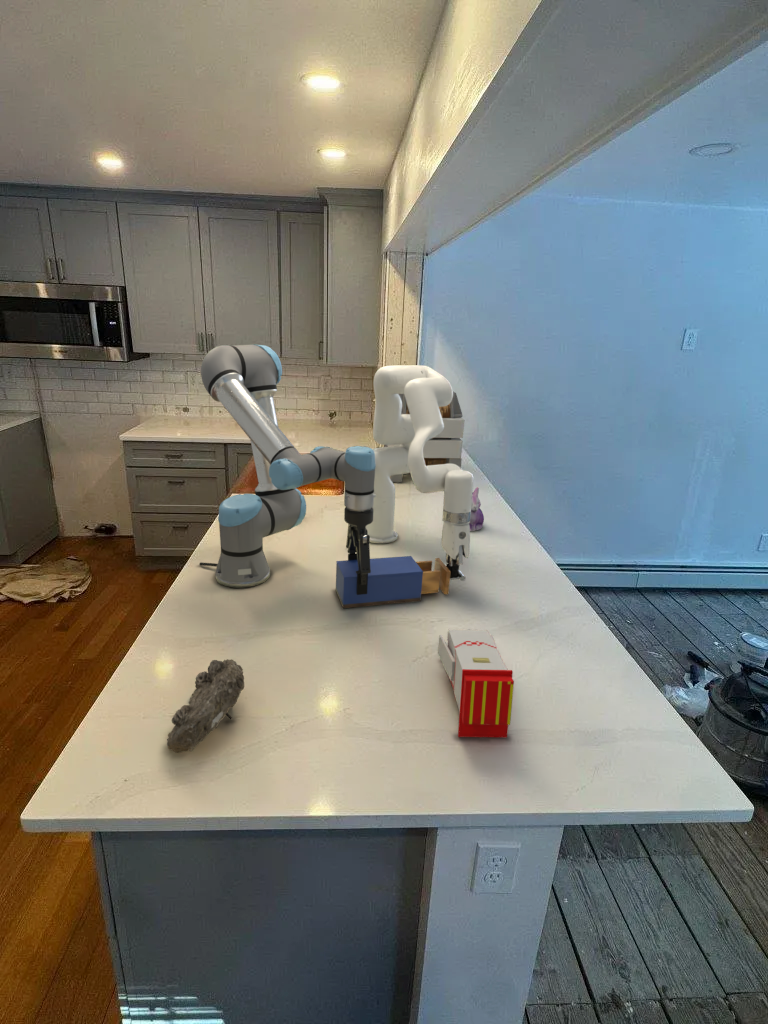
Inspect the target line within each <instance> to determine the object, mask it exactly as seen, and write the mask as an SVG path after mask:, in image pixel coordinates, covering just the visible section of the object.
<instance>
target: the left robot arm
mask: <svg viewBox="0 0 768 1024" xmlns="http://www.w3.org/2000/svg"><path fill="white" fill-rule="evenodd" d="M282 375H283V366H282V363H281V360H280V357H279V355H278V354H277V352H276V351H274V350H273V349H272V348H271V347H269V346H268V345H264V344H256V343H254V344H234V345H232V344H231V345H227V344H223V345H218V346H215V347H213V348H212V349H210V350H209V351H208V352H207V353H206V354H205V355H204V358H203V360H202V362H201V366H200V377H201V382H202V384H203V387H204V388H205V390H206V392H207V393H208V394H209V396H210V397H211V398H212V399H213V400H214V401H215V402H217V403H220V404H221V405H222V406H223V407H224V409H225V410H226V411H227V413H229V414H230V416H231V417H232V419H233V420H234V421H235V422H236V423H237V424H238V426H239V427H240V428H241V430H242V431H243V432H244V434H245V436H247V438H248V439H249V440H250V445H251V451H252V455H253V460H254V465H255V471H256V477H257V482H258V484H257V485H256V486H255V489H254V493H243V494H240V493H239V494H234V495H232V496H229V497H227V498H225V499H224V500H223V501H221V502H220V504H219V507H218V517H217V521H218V526H219V528H218V529H219V544H220V555H219V558H218V561H217V563H214V562H202V561H200V562H199V566H205V567H216V569H215V573H214V574H215V580H216V582H217V583H218V584H220V585H222V586H225V587H227V588H237V589H239V588H240V589H241V588H243V589H244V588H250V587H255V586H259V585H261V584H264V583H265V582H266V581H268V579H270V577H271V568H270V565H269V562H268V560H267V556H266V554H265V552H264V545H263V544H264V540H263V539H264V538H267V537H269V536H272V535H275V534H278V533H281V532H284V531H289V530H292V529H293V528H295V527H297V526H300V525H301V523H302V522H303V521H304V519H305V517H306V514H307V501H306V498H305V496H304V495H303V494H302V492H301V490H299V489H298V488H299V487H300V488H301V487H304V486H307V485H310V484H314V483H319V482H322V481H326V480H330V479H333V480H337V481H340V482H344V495H343V496H344V498H343V499H344V503H343V505H344V510H343V511H344V512H343V513H344V516H343V518H344V522H345V523H346V524H347V534H346V543H345V547H346V549H347V560H357V561H358V571H356V574H357V595H362V594H367V586H368V573H371V570H370V559H371V553H370V551H371V550H370V549H371V548H370V542H369V540H370V536H369V535H368V531H367V529H366V526H367V525H368V524H371V523H372V522H373V512H374V509H373V508H372V507H373V505H374V498H375V497H376V495H375V494H374V478H375V468H376V464H375V452H374V450H373V449H374V448H372V447H368V446H362V445H354V446H348V447H347V448H346V449H345V451H343V450H340V449H336V448H333V447H330V446H323V445H320V446H319V445H318V446H315V447H314V448H313V449H312V450H310V452H307V453H304V454H301V453H300V452H299V450H298V449H297V448H296V447H295V446H294V445H293V443H292V442H291V441H290V440H289V438H288V437H287V436H286V434H285V433H284V432H283V431H282V430H281V429H280V427H279V422H278V417H277V411H276V405H275V400H274V396H275V395H276V393H277V392H278V388H277V385H278V384H280V382H281V380H282Z"/></svg>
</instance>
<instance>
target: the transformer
mask: <svg viewBox="0 0 768 1024" xmlns="http://www.w3.org/2000/svg"><path fill="white" fill-rule="evenodd" d="M399 396H400V398H401V401H402V411H401V414H410V413H409V409H408V406H407V402H406V398H405V394H399ZM439 410H440V413H441V417H442V420H443V423H444V429H443V431H442V432H441V433H440V434H438V435H437V436H435V437H433V438H431V439H430V440H428V441H426V442H425V444H424V447H423V457H424V461H425V465H426V466H429V465H438V464H456V465H457V466H459V467H460V468H461V469H462V461H463V460H462V453H463V442H464V441H463V440H462V439H463V438H464V431H465V430H464V429H465V419H464V418H463V411H462V408H461V405H460V402H459V398H458V395H457V392H455V391H453V398H452V401H451V403H450V404H449V405H447V406H443V407H439ZM390 446H391V447H392V446H400V444H392V445H383V447H390ZM403 475H404V474H398V475H391V476H390V479H391V481H392V482H393V483H402V482H403Z"/></svg>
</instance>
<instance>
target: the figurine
mask: <svg viewBox="0 0 768 1024" xmlns="http://www.w3.org/2000/svg"><path fill="white" fill-rule="evenodd" d="M479 492H480V488H479V487H478V486H477V487H475V488H474V489H473V492H472V504H471V516H470V523H469V527H470V532H474V531H479V530H481V529H482V528H483V525H484V521H485V516H484V513H483V511H482V509H481V508H480V507H481V505H482V503H481V500H480V498H479Z"/></svg>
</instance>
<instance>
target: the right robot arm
mask: <svg viewBox="0 0 768 1024" xmlns="http://www.w3.org/2000/svg"><path fill="white" fill-rule="evenodd" d="M373 392H374V399H375V400H374V401H375V403H374V404H375V406H374V413H373V425H372V437H373V440H374V442H375V443H376V444H378V445H381V446H380V447H375V448H372V449H373V450H374V452H375V464H376V468H375V478H374V494H375V495H376V497H375V498H374V505H373V507H372V508H373V509H374V512H373V522H372V523H371V524H368V525H367V526H366V529H367V531H368V535H369V536H370V540H369V543H373V544H389V543H393V542H395V541H397V540H398V537H399V534H398V532H397V531H396V530H395V528H394V527H395V510H396V509H395V508H396V507H395V506H396V485H395V484H394V482H392V481H391V479H390V476H391V475H398V474H403V475H405V474H406V475H407V474H410V477H411V480H412V483H413V486H414V487H415V489H416V490H417V491H418V492H419V493H421V494H432V493H433V494H434V493H440V492H443V504H442V505H443V506H442V522H443V524H442V530H441V542H440V543H441V544H440V545H441V548H442V549H443V551H444V552H445V561H446V564H445V565H446V567H447V568H448V569H449V570H450V571H451V573H450V577H458V574H459V570H460V565H463V564H464V558H465V559H469V558H470V553H471V531H470V527H469V523H470V516H471V504H472V493H473V492H474V480H475V479H474V475H473V473H471V472H470V471H468V470H464V469H462V467H461V468H460V467H459V466H457V465H456V464H438V465H428V466H426V465H425V461H424V457H423V447H424V444H425V442H426V441H428V440H430V439H431V438H433V437H435V436H437V435H438V434H440V433H441V432H442V431H443V429H444V423H443V420H442V417H441V413H440V410H439V407H443V406H447V405H449V404H450V403H451V401H452V398H453V387H452V384H451V382H450V381H449V380H448V379H447V378H446V377H445V376H444V375H442V374H441V373H440V372H438V371H436V370H435V369H433V367H432V368H431V367H430V366H428V365H424V364H423V365H421V364H417V365H416V364H414V365H413V364H410V365H407V364H394V365H392V364H391V365H384V366H381V367H379V368H378V369H377V371H376V372H375V373H374V377H373ZM399 394H405V398H406V402H407V406H408V409H409V413H410V414H401V411H402V401H401V398H400V396H399ZM392 444H400V446H392V447H391V446H390V447H384V445H392Z"/></svg>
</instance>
